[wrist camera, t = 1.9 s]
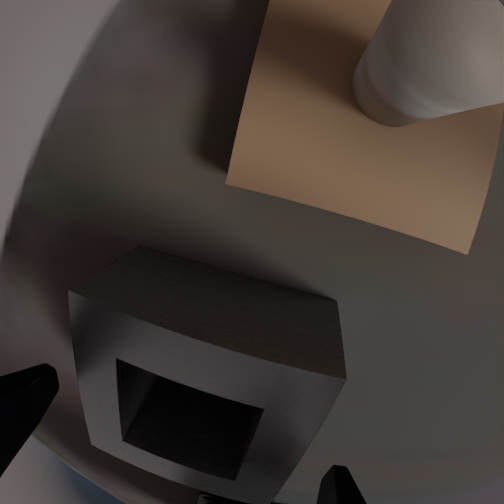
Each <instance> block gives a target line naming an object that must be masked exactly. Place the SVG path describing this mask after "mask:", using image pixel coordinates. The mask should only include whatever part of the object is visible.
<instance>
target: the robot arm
mask: <svg viewBox="0 0 504 504" xmlns="http://www.w3.org/2000/svg"><path fill="white" fill-rule="evenodd" d="M58 390H59V381H58V377H57V372H56V369H55V368H54V367H52V366H50V365H49V364H46V363H44V364H40V365H37V366H34V367H30V368H27V369H24V370H21V371H17V372H14V373H11V374H7V375H4V376H0V477H1V476H2V474H3V473H4V471H5V470H6V468H7V467H8V466H9V464H10V463H11V461H12V460H13V458H14V457H15V456H16V454H17V453H18V451H19V450H20V449H21V447H22V446H23V445H24V443H25V442H26V440H27V439H28V438H29V436H30V435H31V434H32V432H33V431H34V430H35V428H36V427H37V425H38V424H39V423H40V421H41V419H42V418H43V416H44V414H45V412H46V411H47V409H48V407H49V406H50V404H51V402H52V401H53V399H54V397H55V396H56V394H57V392H58ZM197 504H249V503H245V502H241V501H237V500H233V499H229V498H225V497H222V496H218V495H214V494H211V493H208V492H204V491H201V492H200V495H199V499H198V502H197ZM317 504H366V502H365V500H364V498H363V496H362V494H361V492H360V491H359V489H358V487H357V485H356V483H355V481H354V479H353V477H352V476H351V474H350V472H349V470H348V468H347V467H346V466H341V465H333V466H332V467H331V468H330V469H329V470H328V472H327V473H326V474H325V475H324V477H323V478H322V480H321V484H320V489H319V494H318V499H317Z"/></svg>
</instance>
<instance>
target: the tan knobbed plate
mask: <svg viewBox="0 0 504 504" xmlns="http://www.w3.org/2000/svg"><path fill="white" fill-rule="evenodd" d="M503 110H504V6H503V5H502V4H501V3H500V2H499V1H498V0H270V1H269V4H268V8H267V12H266V15H265V19H264V23H263V27H262V30H261V34H260V38H259V42H258V46H257V50H256V54H255V58H254V62H253V66H252V70H251V74H250V78H249V82H248V86H247V90H246V94H245V99H244V103H243V107H242V111H241V116H240V120H239V124H238V129H237V133H236V138H235V142H234V147H233V151H232V156H231V160H230V165H229V170H228V174H227V179H226V184H227V185H231V186H236V187H240V188H244V189H248V190H252V191H256V192H260V193H264V194H268V195H272V196H276V197H280V198H284V199H288V200H291V201H295V202H299V203H303V204H306V205H310V206H314V207H317V208H321V209H324V210H328V211H332V212H335V213H339V214H342V215H345V216H349V217H352V218H356V219H359V220H362V221H366V222H369V223H372V224H376V225H379V226H382V227H385V228H389V229H392V230H395V231H398V232H401V233H404V234H408V235H411V236H414V237H417V238H420V239H423V240H426V241H429V242H432V243H435V244H438V245H441V246H444V247H446V248H449V249H452V250H455V251H458V252H461V253H464V254H466V255H467V254H468V252H469V249H470V246H471V243H472V240H473V238H474V235H475V232H476V229H477V225H478V222H479V219H480V216H481V212H482V209H483V206H484V202H485V199H486V195H487V191H488V187H489V183H490V179H491V175H492V171H493V167H494V162H495V157H496V152H497V147H498V142H499V136H500V130H501V124H502V117H503Z"/></svg>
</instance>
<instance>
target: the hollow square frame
mask: <svg viewBox="0 0 504 504" xmlns="http://www.w3.org/2000/svg"><path fill="white" fill-rule="evenodd" d="M68 296H69V312H70V324H71V334H72V343H73V351H74V359H75V366H76V372H77V379H78V385H79V390H80V396H81V401H82V406H83V411H84V415H85V420H86V424H87V429H88V433H89V437H90V441H91V445H93V446H95V447H97V448H99V449H101V450H103V451H105V452H107V453H109V454H111V455H113V456H115V457H117V458H119V459H121V460H123V461H126V462H128V463H130V464H132V465H134V466H137V467H139V468H141V469H144V470H146V471H149V472H151V473H153V474H156V475H159V476H161V477H164V478H166V479H169V480H172V481H174V482H177V483H180V484H183V485H186V486H189V487H192V488H195V489H198V490H201V491H204V492H208V493H211V494H214V495H218V496H222V497H225V498H229V499H233V500H237V501H241V502H245V503H249V504H270V503H271V502H272V500H273V499H274V498H275V496H276V495H277V493H278V492H279V491H280V489H281V488H282V486H283V485H284V484H285V482H286V481H287V479H288V478H289V476H290V475H291V473H292V472H293V470H294V469H295V467H296V466H297V464H298V463H299V461H300V460H301V458H302V456H303V455H304V453H305V452H306V450H307V448H308V447H309V445H310V444H311V442H312V440H313V439H314V437H315V435H316V434H317V432H318V430H319V429H320V427H321V425H322V424H323V422H324V420H325V418H326V417H327V415H328V413H329V411H330V409H331V408H332V406H333V404H334V402H335V400H336V399H337V397H338V395H339V393H340V391H341V389H342V387H343V385H344V383H345V381H346V380H347V379H346V369H345V360H344V351H343V342H342V334H341V326H340V319H339V312H338V304H337V301H334V300H330V299H327V298H323V297H319V296H315V295H312V294H308V293H304V292H300V291H297V290H293V289H289V288H286V287H282V286H278V285H275V284H271V283H267V282H264V281H260V280H256V279H253V278H249V277H246V276H242V275H239V274H235V273H231V272H228V271H224V270H221V269H217V268H214V267H210V266H207V265H203V264H200V263H197V262H193V261H190V260H186V259H183V258H179V257H176V256H173V255H169V254H166V253H162V252H159V251H156V250H152V249H149V248H146V247H142V246H139V247H137V248H135V249H133V250H132V251H130V252H128V253H127V254H125V255H124V256H122V257H120V258H119V259H117V260H115V261H114V262H112V263H110V264H109V265H107V266H106V267H104V268H102V269H101V270H99V271H97V272H96V273H94V274H93V275H91V276H89V277H88V278H86V279H85V280H83V281H82V282H80V283H78V284H77V285H75V286H74V287H72V288H71V289H69V290H68Z"/></svg>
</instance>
